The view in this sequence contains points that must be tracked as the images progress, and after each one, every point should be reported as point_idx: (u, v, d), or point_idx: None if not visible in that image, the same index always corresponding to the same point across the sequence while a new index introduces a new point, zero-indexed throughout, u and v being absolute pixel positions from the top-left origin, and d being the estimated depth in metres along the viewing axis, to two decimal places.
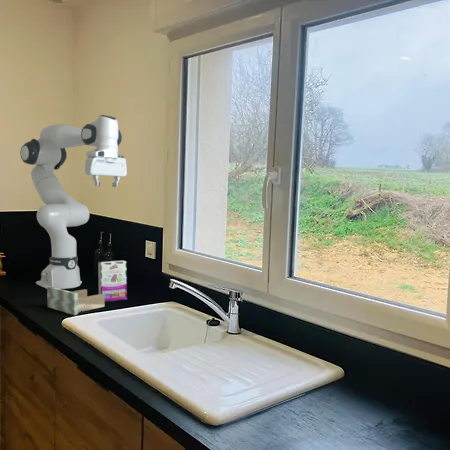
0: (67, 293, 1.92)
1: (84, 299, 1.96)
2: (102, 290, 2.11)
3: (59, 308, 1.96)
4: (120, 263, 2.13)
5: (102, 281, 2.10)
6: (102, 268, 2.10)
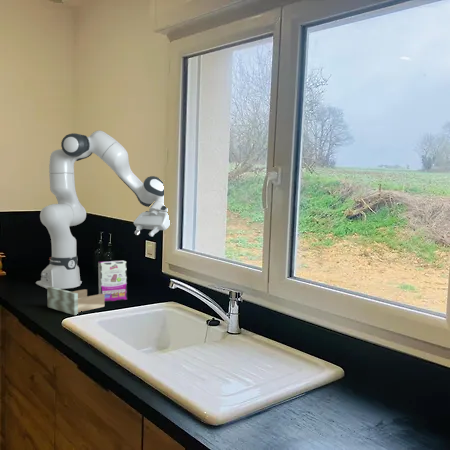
0: (67, 293, 1.92)
1: (84, 299, 1.96)
2: (102, 290, 2.11)
3: (59, 308, 1.96)
4: (120, 263, 2.13)
5: (102, 281, 2.10)
6: (102, 268, 2.10)
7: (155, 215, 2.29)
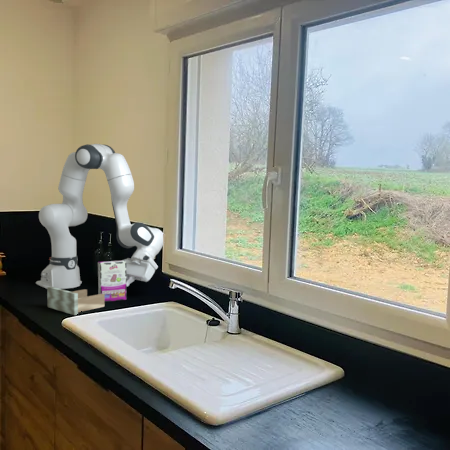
0: (67, 293, 1.92)
1: (84, 299, 1.96)
2: (102, 290, 2.10)
3: (59, 308, 1.96)
4: (120, 263, 2.13)
5: (102, 281, 2.10)
6: (102, 268, 2.10)
7: (137, 264, 2.23)
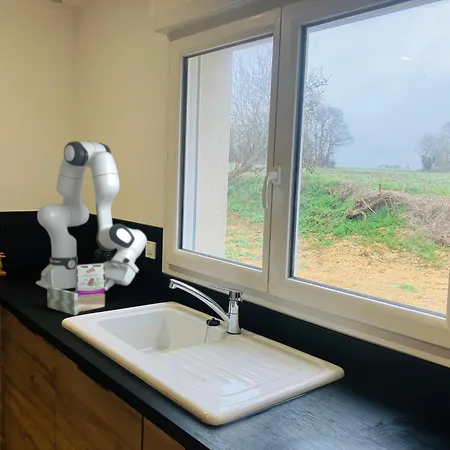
0: (67, 293, 1.92)
1: (84, 299, 1.96)
2: (78, 294, 2.02)
3: (59, 308, 1.96)
4: (97, 266, 2.04)
5: (78, 285, 2.02)
6: (79, 271, 2.01)
7: (117, 267, 2.14)
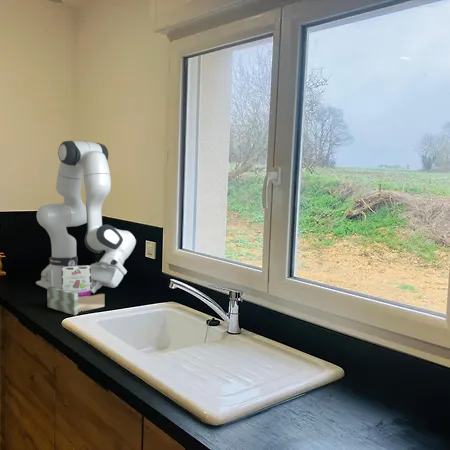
0: (67, 293, 1.92)
1: (84, 299, 1.96)
2: None
3: (59, 308, 1.96)
4: (83, 268, 1.99)
5: (63, 287, 1.97)
6: (64, 273, 1.97)
7: (104, 269, 2.09)
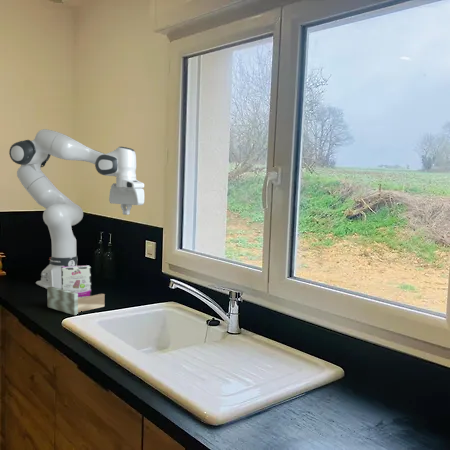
0: (67, 293, 1.92)
1: (84, 299, 1.96)
2: None
3: (59, 308, 1.96)
4: (83, 268, 1.99)
5: (63, 287, 1.97)
6: (64, 273, 1.97)
7: (125, 192, 2.25)
